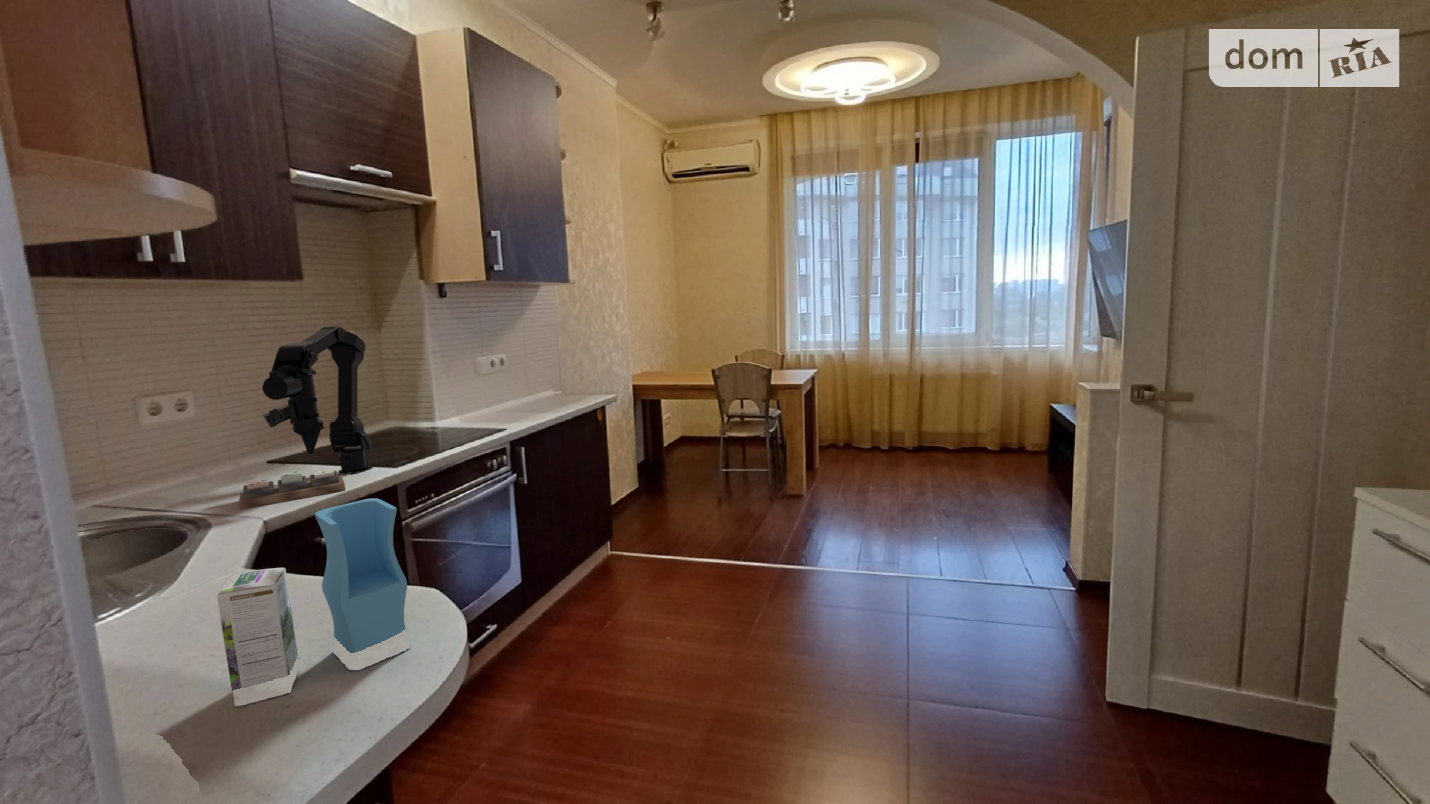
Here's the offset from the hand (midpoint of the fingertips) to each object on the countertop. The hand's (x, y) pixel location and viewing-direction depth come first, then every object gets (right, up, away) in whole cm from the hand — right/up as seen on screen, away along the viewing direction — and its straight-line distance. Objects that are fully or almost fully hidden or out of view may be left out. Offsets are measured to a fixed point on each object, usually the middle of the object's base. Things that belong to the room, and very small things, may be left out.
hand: (310, 453), depth 159 cm
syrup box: (+50, -22, -83) cm, 99 cm away
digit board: (-4, -11, -1) cm, 11 cm away
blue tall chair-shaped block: (+58, -21, -75) cm, 97 cm away
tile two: (-4, -7, -2) cm, 8 cm away
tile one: (+2, -7, +3) cm, 8 cm away
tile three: (-9, -9, -5) cm, 14 cm away
